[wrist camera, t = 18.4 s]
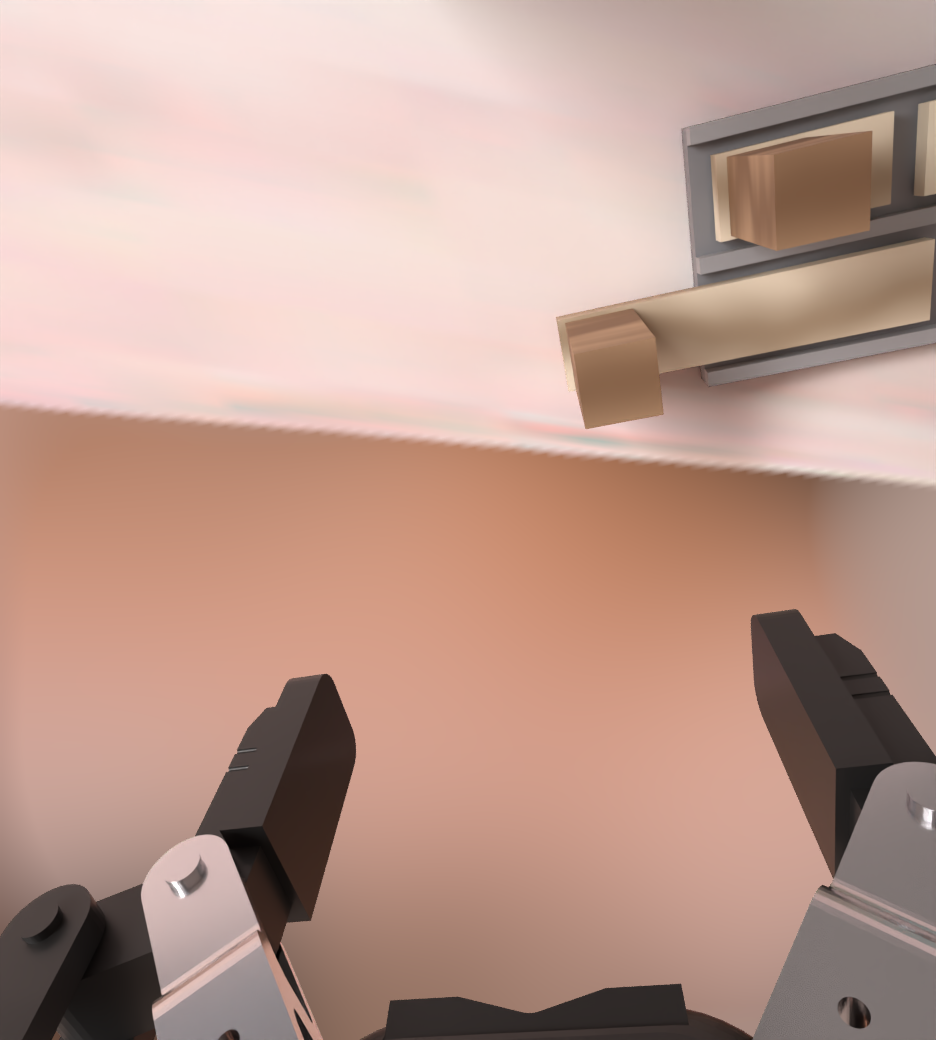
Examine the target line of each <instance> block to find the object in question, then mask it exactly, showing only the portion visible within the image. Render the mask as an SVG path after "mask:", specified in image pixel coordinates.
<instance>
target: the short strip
mask: <svg viewBox="0 0 936 1040" xmlns="http://www.w3.org/2000/svg"><path fill="white" fill-rule="evenodd" d="M893 134H894V111H890V112H884V113H880V114H876V115H871V116H867V117H863V118H859V119H855V120H851V121H847V122H843V123H839V124H835V125H831V126H827V127H823V128H819V129H815V130H811V131H807V132H802V133H798V134H794V135H790V136H786V137H782V138H778V139H774V140H770V141H766V142H762V143H758V144H754V145H750V146H746V147H742V148H737V149H733V150H729V151H725V152H721V153H717V154H713V155H710V157H711V172H712V188H713V203H714V219H715V234H716V241H719V242H724V241H729V240H733V239H738V238H739V239H742V240H745V241H748V242H751V243H754V244H757V245H760V246H763V247H766V248H769V249H772V250H775V251H779V250H783V249H788V248H792V247H797V246H801V245H806V244H810V243H815V242H819V241H824V240H828V239H833V238H837V237H842V236H847V235H851V234H856V233H860V232H865V231H869V230H870V208H875V207H879V206H884V205H888V204H891V185H892V160H893Z"/></svg>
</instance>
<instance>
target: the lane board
mask: <svg viewBox="0 0 936 1040" xmlns="http://www.w3.org/2000/svg"><path fill="white" fill-rule="evenodd" d="M890 111H894V134H893V160H892V185H891V204H888V205H884V206H879V207H875V208H870V230H869V231H865V232H860V233H856V234H851V235H847V236H842V237H837V238H833V239H828V240H824V241H819V242H815V243H810V244H806V245H801V246H797V247H792V248H788V249H783V250H779V251H775V250H772V249H769V248H766V247H763V246H760V245H757V244H754V243H751V242H748V241H745V240H742V239H739V238H738V239H733V240H729V241H724V242H719V241H716V234H715V219H714V203H713V188H712V172H711V157H710V155H713V154H717V153H721V152H725V151H729V150H733V149H737V148H742V147H746V146H750V145H754V144H758V143H762V142H766V141H770V140H774V139H778V138H782V137H786V136H790V135H794V134H798V133H802V132H807V131H811V130H815V129H819V128H823V127H827V126H831V125H835V124H839V123H843V122H847V121H851V120H855V119H859V118H863V117H867V116H871V115H876V114H880V113H884V112H890ZM682 141H683V153H684V166H685V178H686V191H687V203H688V216H689V228H690V241H691V253H692V266H693V279H694V287H698V286H702V285H707V284H711V283H716V282H721V281H725V280H730V279H734V278H739V277H744V276H748V275H753V274H757V273H762V272H767V271H771V270H776V269H781V268H785V267H790V266H794V265H799V264H804V263H808V262H813V261H817V260H822V259H827V258H831V257H836V256H840V255H845V254H850V253H854V252H859V251H863V250H868V249H873V248H877V247H882V246H887V245H891V244H896V243H900V242H905V241H910V240H914V239H919V238H923V237H926V238H932V239H935V248H934V263H933V278H932V293H931V309H930V320H927V321H922V322H917V323H912V324H907V325H902V326H897V327H892V328H887V329H882V330H877V331H872V332H867V333H862V334H857V335H852V336H847V337H842V338H837V339H832V340H827V341H822V342H817V343H812V344H807V345H802V346H797V347H792V348H787V349H782V350H776V351H771V352H766V353H761V354H756V355H751V356H746V357H741V358H736V359H731V360H726V361H721V362H716V363H711V364H706V365H701V378H702V379H703V380H704V382H705V383H706V384H707V385H708V386H709V387H710V386H715V385H721V384H726V383H731V382H736V381H741V380H746V379H752V378H757V377H762V376H767V375H772V374H777V373H783V372H788V371H793V370H798V369H803V368H808V367H814V366H819V365H824V364H829V363H834V362H839V361H845V360H850V359H855V358H860V357H865V356H870V355H876V354H881V353H886V352H891V351H896V350H901V349H907V348H912V347H917V346H922V345H927V344H932V343H936V64H935V65H931V66H927V67H923V68H919V69H915V70H911V71H907V72H903V73H899V74H895V75H891V76H887V77H883V78H879V79H876V80H872V81H868V82H864V83H860V84H856V85H852V86H848V87H844V88H840V89H836V90H832V91H828V92H824V93H820V94H817V95H813V96H809V97H805V98H801V99H797V100H793V101H789V102H785V103H781V104H777V105H773V106H769V107H765V108H761V109H757V110H754V111H750V112H746V113H742V114H738V115H734V116H730V117H726V118H722V119H718V120H714V121H710V122H706V123H702V124H698V125H694V126H691V127H687V128H683V129H682Z"/></svg>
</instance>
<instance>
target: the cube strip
mask: <svg viewBox="0 0 936 1040" xmlns="http://www.w3.org/2000/svg"><path fill="white" fill-rule="evenodd" d="M934 248H935V239H932V238H926V237H923V238H919V239H914V240H910V241H905V242H900V243H896V244H891V245H887V246H882V247H877V248H873V249H868V250H863V251H859V252H854V253H850V254H845V255H840V256H836V257H831V258H827V259H822V260H817V261H813V262H808V263H804V264H799V265H794V266H790V267H785V268H781V269H776V270H771V271H767V272H762V273H757V274H753V275H748V276H744V277H739V278H734V279H730V280H725V281H721V282H716V283H711V284H707V285H702V286H698V287H693V288H688V289H684V290H679V291H675V292H670V293H665V294H661V295H656V296H652V297H647V298H642V299H638V300H633V301H628V302H624V303H619V304H615V305H610V306H605V307H601V308H596V309H592V310H587V311H582V312H578V313H573V314H569V315H564V316H559V317H556V319H557V325H558V331H559V337H560V343H561V349H562V355H563V361H564V367H565V373H566V379H567V385H568V390H569V392H570V391H575V390H576V392H577V396H578V400H579V404H580V408H581V412H582V416H583V420H584V424H585V429H589V428H595V427H600V426H605V425H610V424H616V423H621V422H626V421H631V420H637V419H642V418H647V417H653V416H658V415H663V405H662V395H661V386H660V377H659V374H661V373H666V372H671V371H676V370H681V369H686V368H691V367H696V366H701V365H706V364H711V363H716V362H721V361H726V360H731V359H736V358H741V357H746V356H751V355H756V354H761V353H766V352H771V351H776V350H782V349H787V348H792V347H797V346H802V345H807V344H812V343H817V342H822V341H827V340H832V339H837V338H842V337H847V336H852V335H857V334H862V333H867V332H872V331H877V330H882V329H887V328H892V327H897V326H902V325H907V324H912V323H917V322H922V321H927V320H930V309H931V293H932V278H933V263H934Z"/></svg>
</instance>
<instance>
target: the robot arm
mask: <svg viewBox="0 0 936 1040" xmlns="http://www.w3.org/2000/svg"><path fill="white" fill-rule="evenodd" d="M751 635H752V654H753V670H754V685H755V691H756V696H757V701H758V705H759V708H760V711H761V714H762V717H763V719H764V721H765V724H766V726H767V728H768V731H769V733H770V735H771V737H772V740H773V742H774V744H775V746H776V749H777V751H778V753H779V756H780V758H781V760H782V763H783V765H784V767H785V769H786V772H787V774H788V776H789V779H790V781H791V783H792V785H793V788H794V790H795V792H796V795H797V797H798V799H799V801H800V804H801V806H802V808H803V811H804V813H805V815H806V817H807V820H808V822H809V824H810V826H811V829H812V831H813V833H814V836H815V838H816V840H817V842H818V845H819V847H820V849H821V852H822V854H823V856H824V858H825V861H826V863H827V865H828V868H829V870H830V872H831V874H832V877H833V881H832V883H831V885H830V886H829V888H828V887H826V886H824V885H822V886H820V887H819V888H818V890H817V891H816V893H815V895H814V897H813V898H812V901H811V903H810V905H809V908H808V910H807V912H806V915H805V917H804V919H803V922H802V924H801V926H800V929H799V931H798V933H797V936H796V938H795V940H794V943H793V946H792V948H791V950H790V952H789V955H788V957H787V959H786V962H785V964H784V966H783V969H782V971H781V974H780V976H779V978H778V980H777V983H776V985H775V988H774V990H773V992H772V994H771V997H770V999H769V1002H768V1004H767V1006H766V1009H765V1011H764V1013H763V1016H762V1018H761V1020H760V1023H759V1025H758V1028H757V1030H756V1032H755V1035H754V1037H752V1036H750V1035H748V1034H747V1033H745V1032H744V1031H742V1030H740V1029H739V1028H737V1027H735V1026H733V1025H730V1024H729V1023H727V1022H725V1021H723V1020H720V1019H718V1018H715V1017H712V1016H709V1015H707V1014H704V1013H700V1012H696V1011H692V1010H688V1009H686V1007H685V1002H684V996H683V992H682V987H681V984H670V985H653V986H636V987H619V988H605V989H602V990H599V991H597V992H594V993H591V994H588V995H585V996H582V997H579V998H576V999H574V1000H571V1001H568V1002H565V1003H562V1004H559V1005H557V1006H554V1007H551V1008H548V1009H545V1010H542V1011H539V1012H536V1013H523V1012H519V1011H514V1010H510V1009H506V1008H502V1007H498V1006H494V1005H490V1004H485V1003H482V1002H477V1001H473V1000H469V999H465V998H461V997H446V998H428V999H411V1000H394V1001H390V1005H389V1011H388V1018H387V1024H386V1027H385V1028H382V1029H380V1030H377V1031H375V1032H373V1033H372V1034H369V1035H368V1036H366V1037H364V1038H362V1039H360V1040H936V756H935V755H934V753H933V752H932V751H931V749H930V748H929V746H928V745H927V743H926V742H925V740H924V739H923V738H922V736H921V735H920V733H919V732H918V731H917V729H916V728H915V726H914V725H913V723H912V722H911V721H910V719H909V718H908V716H907V715H906V714H905V712H904V711H903V709H902V708H901V706H900V705H899V703H898V702H897V701H896V699H895V698H894V696H893V695H890V693H889V689H888V688H887V686H886V685H885V684H884V682H883V681H882V679H881V678H880V677H878V676H877V672H876V671H875V669H874V668H873V667H872V665H871V664H870V662H869V661H868V659H867V658H866V656H865V655H864V654H863V652H862V651H861V650H860V649H858V648H857V647H855V646H853V645H852V644H851V643H849V642H848V641H846V640H844V639H843V638H842V637H840V636H839V635H837V634H835V633H834V634H826V635H820V636H814V634H813V633H812V631H811V630H810V628H809V626H808V625H807V623H806V622H805V620H804V618H803V617H802V615H801V614H800V612H799V611H798V610H796V609H793V610H786V611H779V612H772V613H765V614H757V615H753V616H752V618H751ZM237 751H238V753H237V754H235V755H234V758H233V759H232V762H231V764H230V766H229V772H226V774H225V776H224V778H223V780H222V782H221V784H220V786H219V788H218V790H217V792H216V794H215V796H214V799H213V800H212V802H211V805H210V807H209V809H208V811H207V813H206V815H205V817H204V819H203V821H202V823H201V825H200V827H199V829H198V831H197V833H196V835H195V837H192V838H189V839H187V840H185V841H183V842H181V843H179V844H177V845H176V846H174V847H173V848H171V849H170V850H169V851H167V852H166V853H165V854H164V855H163V856H162V857H161V858H160V859H159V860H158V861H157V862H156V863H155V864H154V866H153V867H152V868H151V870H150V871H149V873H148V874H147V876H146V878H145V880H144V883H143V884H141V885H138V886H136V887H133V888H131V889H128V890H125V891H123V892H120V893H118V894H115V895H113V896H110V897H108V898H105V899H103V900H100V901H97V902H96V901H95V900H94V898H93V897H92V896H91V894H90V893H89V892H88V890H87V889H86V888H85V887H83V886H80V885H75V884H74V885H73V884H72V885H65V886H60V887H57V888H55V889H52V890H50V891H48V892H46V893H44V894H43V895H41V896H39V897H38V898H36V899H35V900H33V901H32V902H31V903H29V904H28V905H27V906H26V907H25V908H23V909H22V910H21V911H20V912H19V913H18V914H17V915H16V916H15V917H14V918H13V920H12V921H11V922H10V923H9V924H8V926H7V927H6V929H5V930H4V931H3V933H2V935H1V936H0V1040H52V1038H53V1036H54V1034H55V1032H56V1031H57V1032H58V1033H59V1034H60V1036H61V1037H60V1039H59V1040H154V1037H155V1035H157V1040H323V1038H322V1036H321V1034H320V1031H319V1029H318V1026H317V1024H316V1022H315V1019H314V1017H313V1015H312V1012H311V1010H310V1007H309V1005H308V1003H307V1000H306V998H305V996H304V993H303V991H302V988H301V986H300V984H299V981H298V979H297V976H296V974H295V972H294V970H293V967H292V964H291V962H290V960H289V957H288V955H287V953H286V950H285V948H284V947H283V945H282V943H281V939H282V936H283V932H284V929H285V926H286V923H287V922H300V921H311V918H312V914H313V911H314V907H315V904H316V900H317V897H318V893H319V889H320V886H321V882H322V879H323V875H324V872H325V867H326V864H327V861H328V857H329V854H330V850H331V846H332V843H333V839H334V836H335V832H336V828H337V825H338V821H339V818H340V814H341V810H342V807H343V803H344V800H345V796H346V793H347V789H348V786H349V782H350V779H351V775H352V771H353V767H354V764H355V758H356V743H355V737H354V733H353V729H352V727H351V724H350V722H349V719H348V717H347V714H346V712H345V709H344V707H343V704H342V702H341V699H340V696H339V694H338V692H337V689H336V686H335V684H334V682H333V680H332V678H331V677H330V676H329V675H328V674H321V675H314V676H307V677H301V678H293V679H290V680H289V681H288V682H287V683H286V685H285V687H284V689H283V692H282V694H281V696H280V698H279V700H278V703H277V705H276V707H271V708H266V709H265V710H264V712H262V714H261V715H260V716H259V717H258V718H257V719H256V720H255V721H254V722H253V723H252V724H251V725H250V726H249V727H248V729H247V731H246V733H245V735H244V737H243V739H242V741H241V743H240V745H239V747H238V749H237Z"/></svg>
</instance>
